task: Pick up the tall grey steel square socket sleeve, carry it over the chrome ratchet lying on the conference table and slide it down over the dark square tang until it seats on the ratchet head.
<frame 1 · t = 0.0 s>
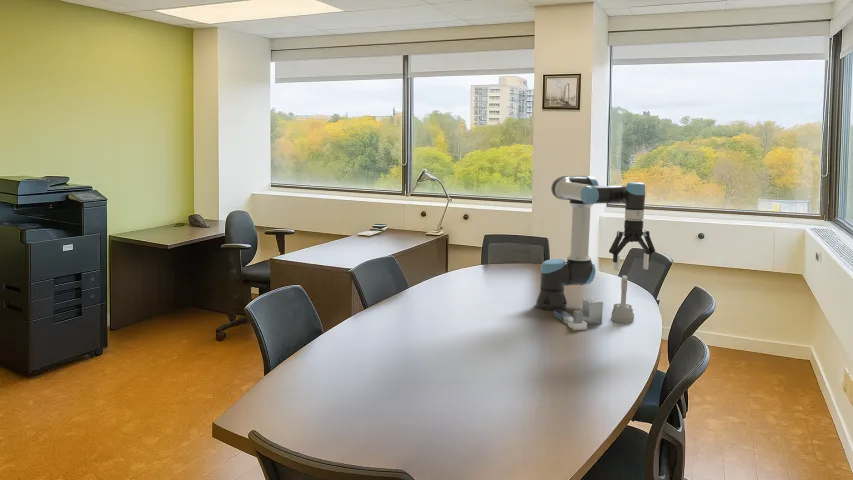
hand: (631, 269, 277), 28 cm above the table, fingers open, 13 cm apart
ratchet: (577, 328, 290), on the table
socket: (591, 321, 300), on the table
engine component: (622, 319, 304), on the table
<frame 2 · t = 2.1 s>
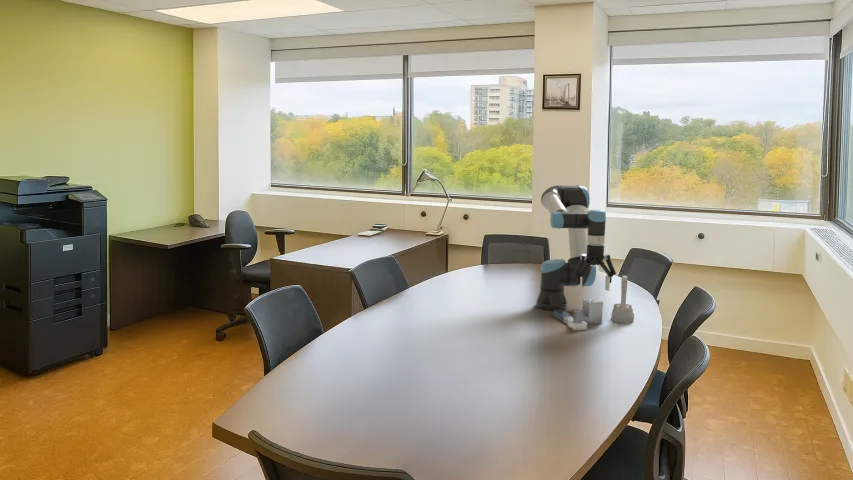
hand: (593, 290, 297), 14 cm above the table, fingers open, 13 cm apart
nothing on the table moved.
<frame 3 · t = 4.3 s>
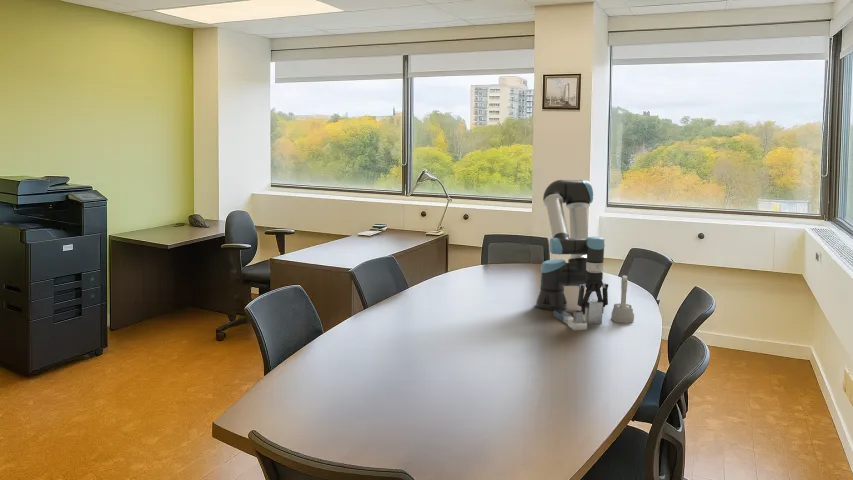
hand: (591, 320, 300), 0 cm above the table, fingers closed on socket, 7 cm apart
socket: (591, 321, 300), on the table, touching gripper
everything else where it was.
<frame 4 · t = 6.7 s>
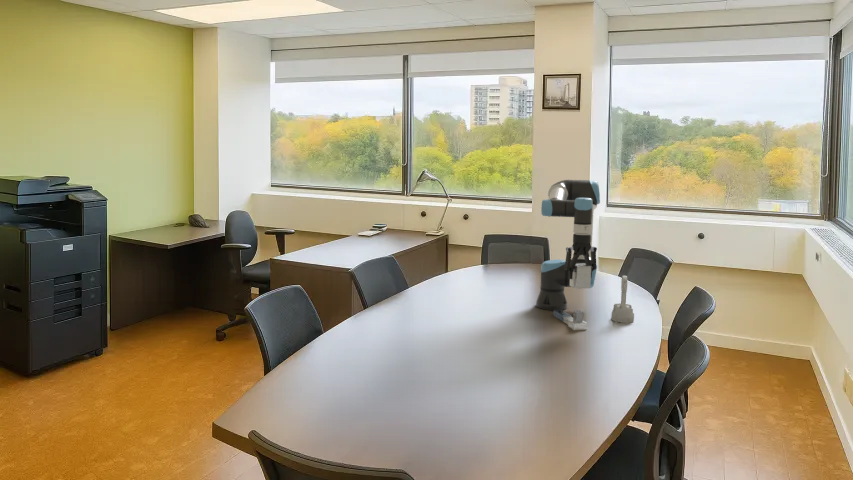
hand: (579, 285, 287), 19 cm above the table, fingers closed on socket, 7 cm apart
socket: (579, 286, 287), point 18 cm above the table, touching gripper
everything else where it was.
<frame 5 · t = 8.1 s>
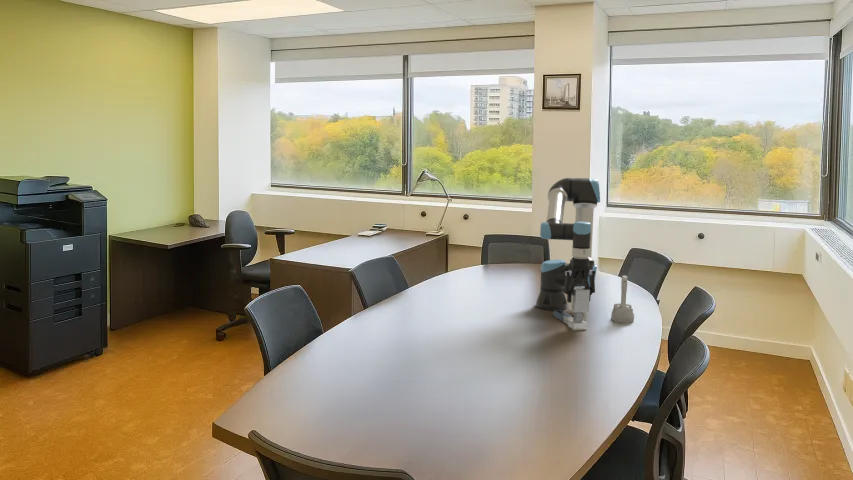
hand: (578, 308, 288), 9 cm above the table, fingers closed on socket, 7 cm apart
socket: (578, 310, 288), point 8 cm above the table, touching gripper
everything else where it was.
when the fingers open (4 cm above the table, at t = 9.4 s): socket stays where it is, resting on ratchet.
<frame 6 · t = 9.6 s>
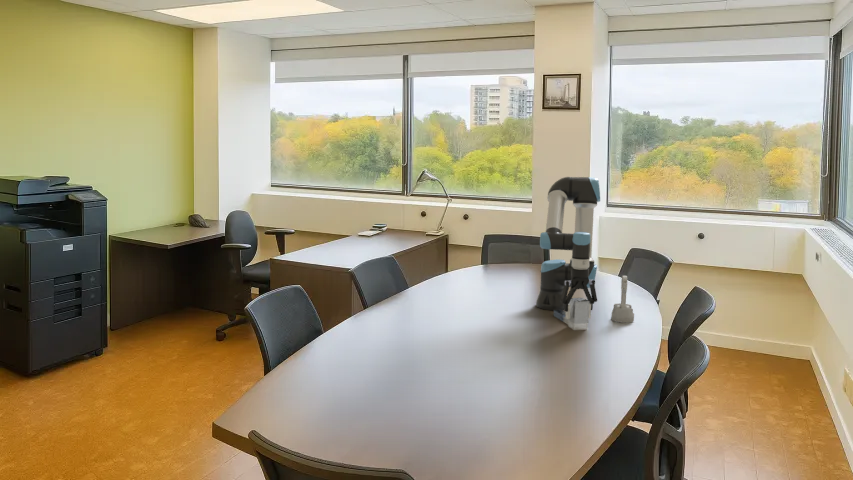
hand: (577, 317, 289), 5 cm above the table, fingers open, 9 cm apart
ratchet: (577, 328, 290), on the table, touching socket
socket: (577, 321, 289), point 3 cm above the table, touching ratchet
everything else where it was.
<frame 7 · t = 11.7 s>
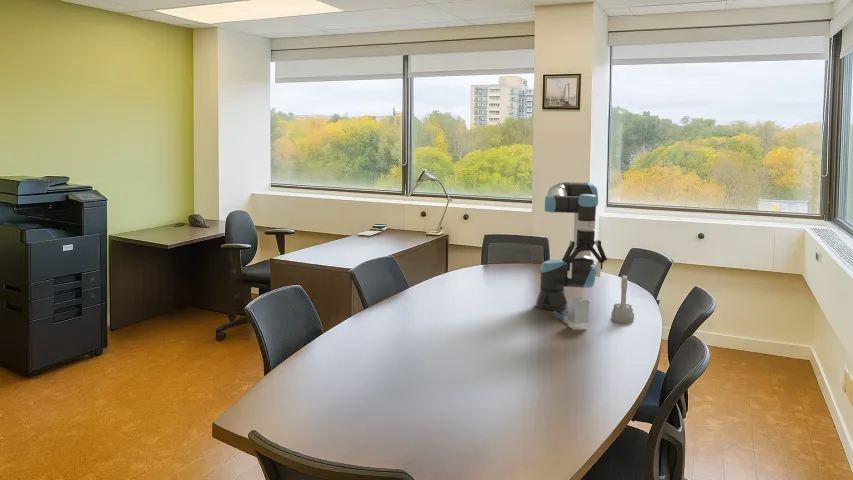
hand: (583, 277, 291), 22 cm above the table, fingers open, 13 cm apart
nothing on the table moved.
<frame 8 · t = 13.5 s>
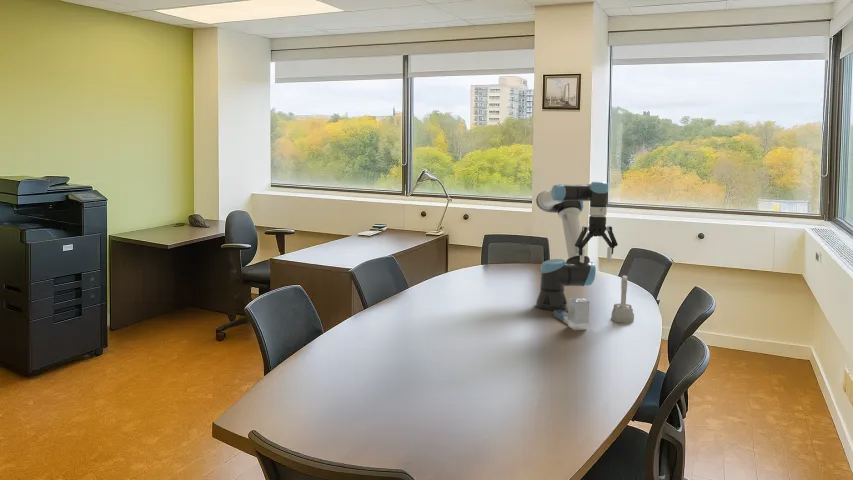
hand: (595, 262, 301), 27 cm above the table, fingers open, 13 cm apart
nothing on the table moved.
at the end: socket 0.1 cm off-centre on the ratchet, point 3.0 cm above the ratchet's base; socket tilted 0°; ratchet moved 0.0 cm from its start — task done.
